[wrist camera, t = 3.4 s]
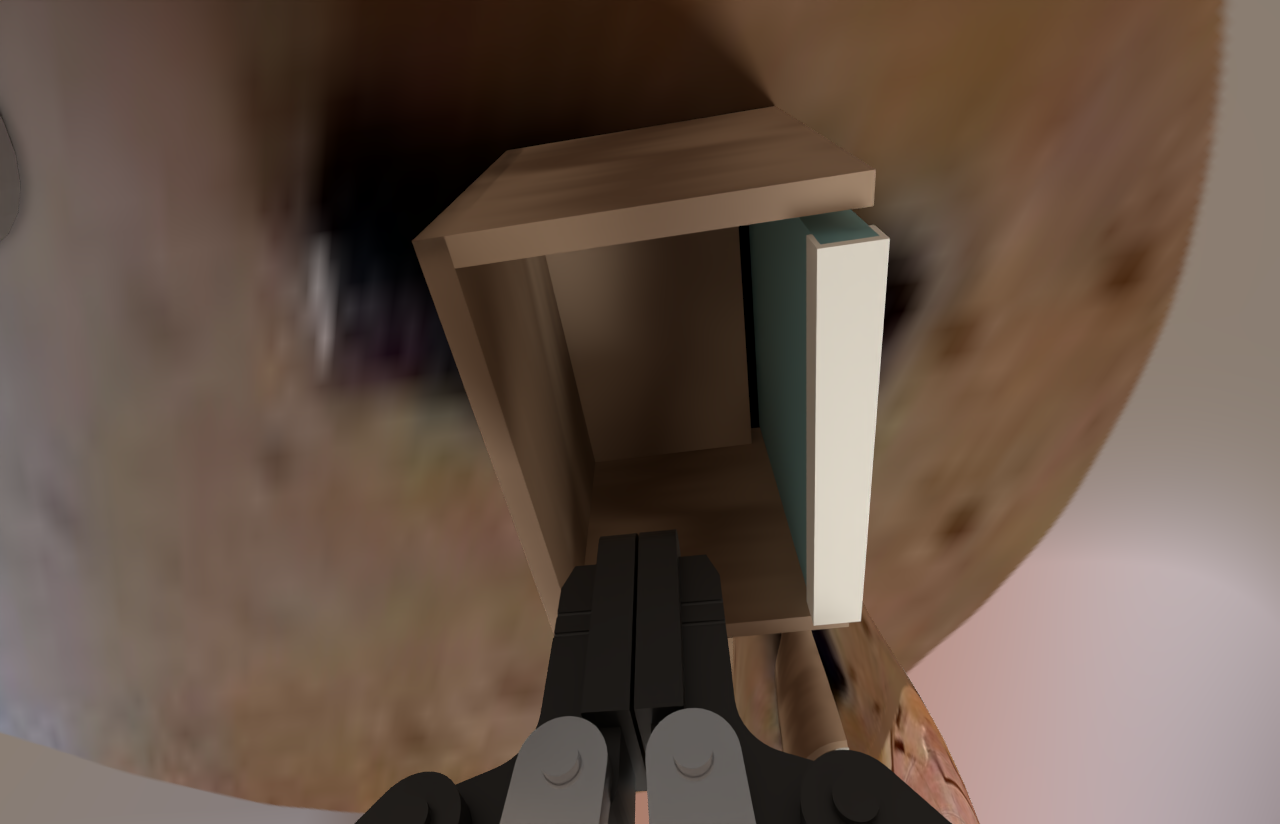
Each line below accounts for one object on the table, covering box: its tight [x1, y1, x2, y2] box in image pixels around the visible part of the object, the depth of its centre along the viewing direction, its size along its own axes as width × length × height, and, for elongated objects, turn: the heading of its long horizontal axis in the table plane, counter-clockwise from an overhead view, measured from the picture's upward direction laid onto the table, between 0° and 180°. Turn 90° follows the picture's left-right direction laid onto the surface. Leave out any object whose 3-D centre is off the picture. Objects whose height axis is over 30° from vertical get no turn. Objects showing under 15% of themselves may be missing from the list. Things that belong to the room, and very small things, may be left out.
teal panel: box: [749, 209, 890, 626], centre depth 17 cm, size 1×10×9 cm, turn 8°
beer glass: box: [732, 600, 980, 824], centre depth 21 cm, size 7×7×15 cm
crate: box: [412, 106, 876, 638], centre depth 17 cm, size 8×12×9 cm
